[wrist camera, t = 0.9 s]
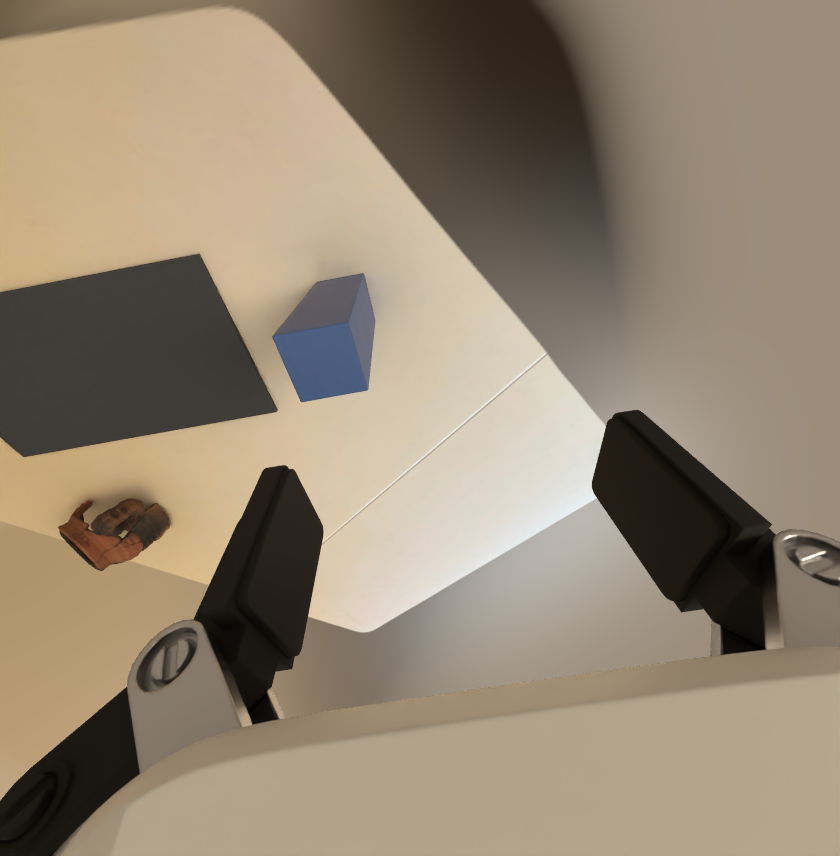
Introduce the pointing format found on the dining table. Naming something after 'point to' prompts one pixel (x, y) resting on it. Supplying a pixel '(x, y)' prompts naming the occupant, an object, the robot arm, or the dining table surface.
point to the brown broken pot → (114, 532)
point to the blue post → (329, 339)
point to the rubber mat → (121, 358)
